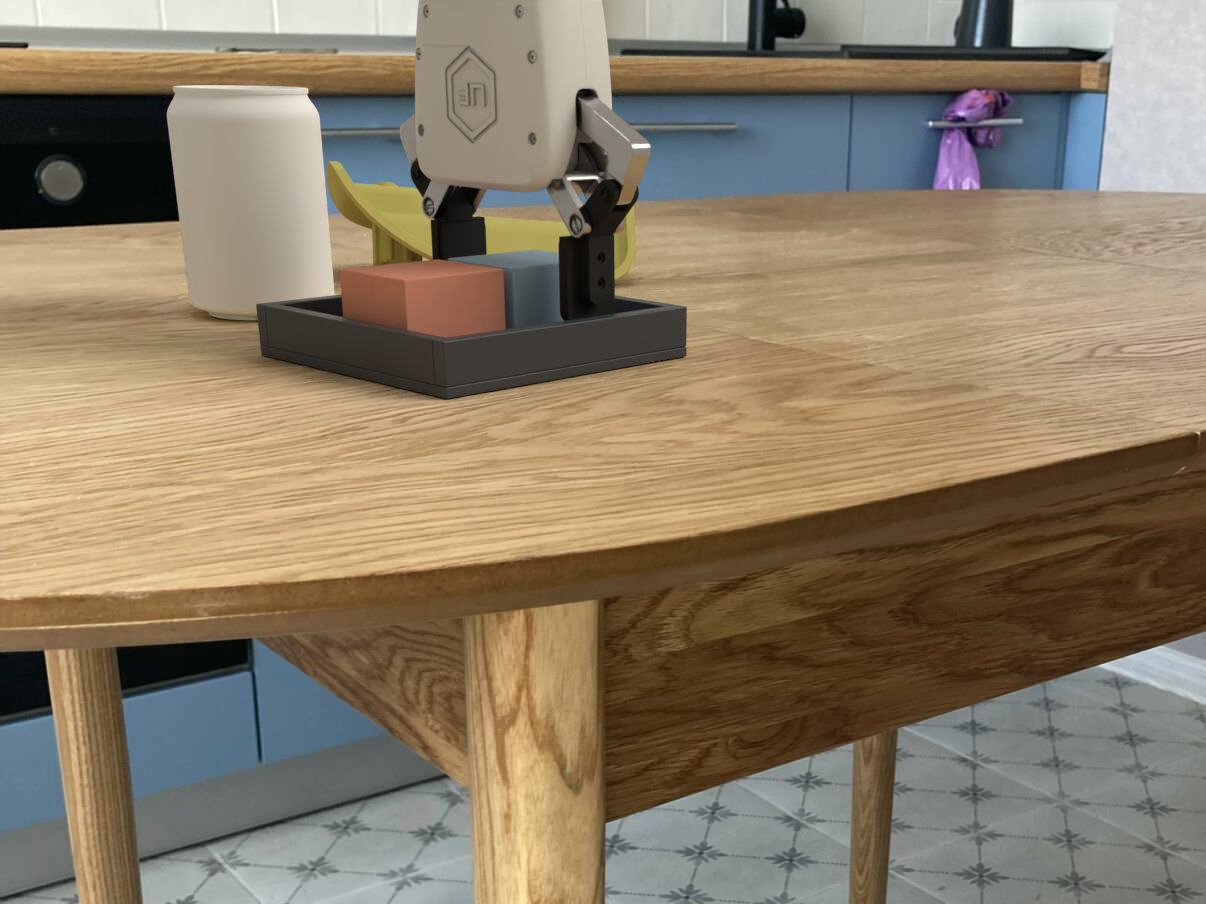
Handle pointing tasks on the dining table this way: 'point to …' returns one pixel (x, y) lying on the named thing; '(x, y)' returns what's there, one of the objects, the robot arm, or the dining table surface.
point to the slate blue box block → (525, 285)
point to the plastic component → (408, 230)
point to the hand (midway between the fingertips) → (522, 307)
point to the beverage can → (250, 196)
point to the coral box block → (426, 297)
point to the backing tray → (469, 346)
